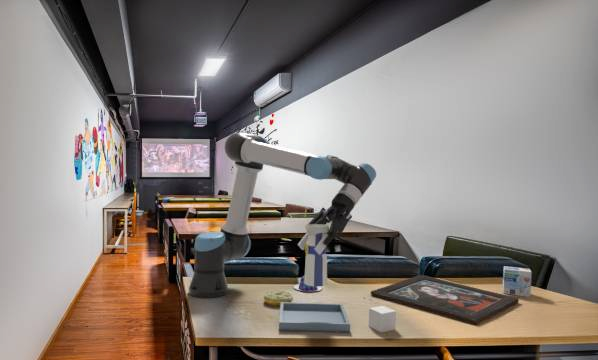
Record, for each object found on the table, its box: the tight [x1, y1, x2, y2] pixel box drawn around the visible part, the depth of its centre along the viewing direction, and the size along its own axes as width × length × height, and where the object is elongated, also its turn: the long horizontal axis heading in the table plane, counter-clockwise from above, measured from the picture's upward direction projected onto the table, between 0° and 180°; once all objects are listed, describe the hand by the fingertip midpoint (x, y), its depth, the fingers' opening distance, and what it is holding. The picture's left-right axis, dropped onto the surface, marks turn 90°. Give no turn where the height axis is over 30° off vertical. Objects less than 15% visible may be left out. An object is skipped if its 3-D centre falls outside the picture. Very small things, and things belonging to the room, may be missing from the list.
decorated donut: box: [263, 290, 294, 307], centre depth 158 cm, size 10×11×4 cm
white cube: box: [368, 305, 397, 333], centre depth 136 cm, size 6×6×6 cm
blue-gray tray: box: [278, 301, 351, 334], centre depth 140 cm, size 22×20×3 cm
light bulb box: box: [502, 265, 533, 298], centre depth 182 cm, size 11×7×11 cm, turn 68°
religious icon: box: [370, 274, 520, 326], centre depth 170 cm, size 40×45×3 cm
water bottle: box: [304, 209, 330, 287], centre depth 140 cm, size 8×9×25 cm
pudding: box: [293, 275, 323, 293], centre depth 178 cm, size 12×12×5 cm
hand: (308, 249), depth 137 cm, fingers closed on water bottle, 8 cm apart
